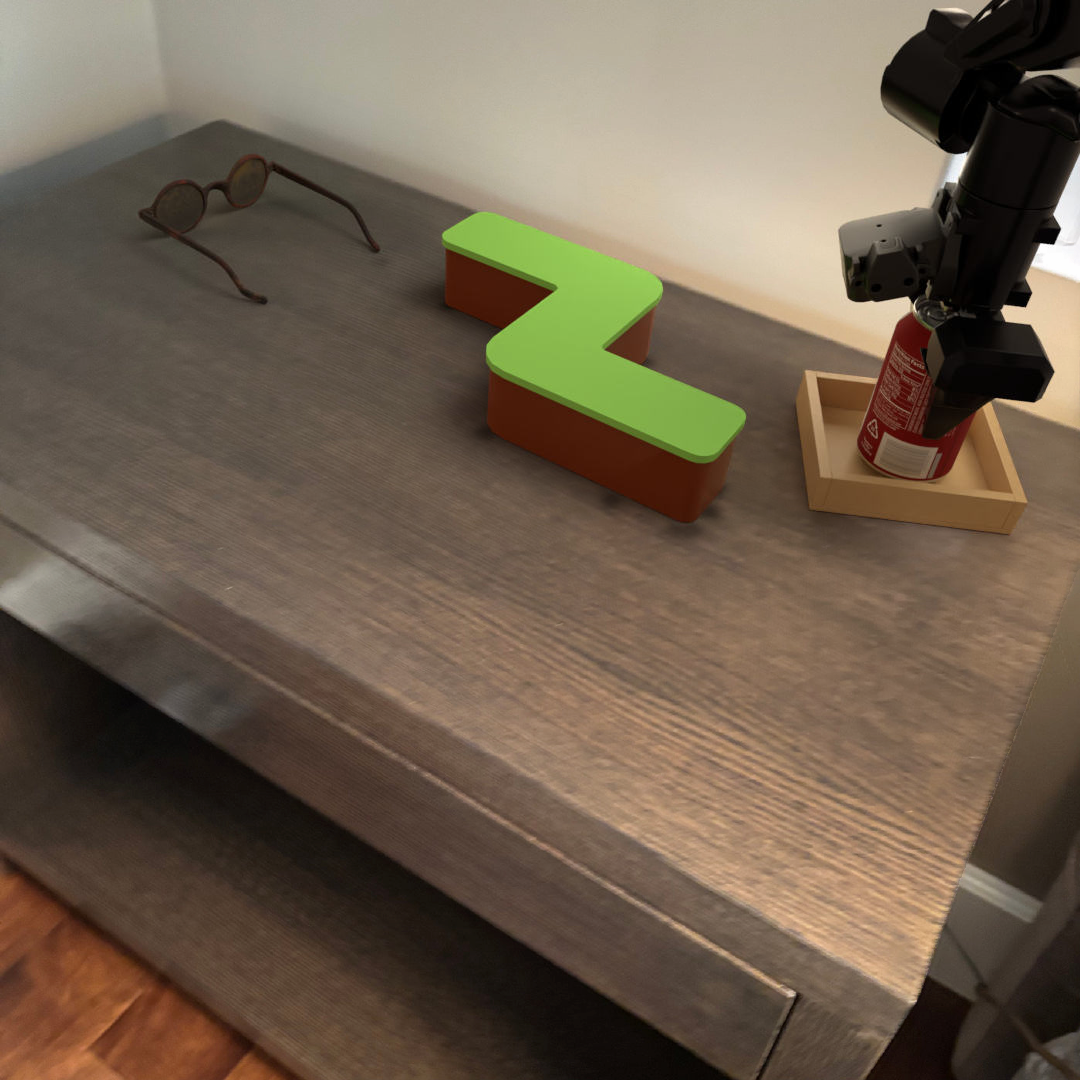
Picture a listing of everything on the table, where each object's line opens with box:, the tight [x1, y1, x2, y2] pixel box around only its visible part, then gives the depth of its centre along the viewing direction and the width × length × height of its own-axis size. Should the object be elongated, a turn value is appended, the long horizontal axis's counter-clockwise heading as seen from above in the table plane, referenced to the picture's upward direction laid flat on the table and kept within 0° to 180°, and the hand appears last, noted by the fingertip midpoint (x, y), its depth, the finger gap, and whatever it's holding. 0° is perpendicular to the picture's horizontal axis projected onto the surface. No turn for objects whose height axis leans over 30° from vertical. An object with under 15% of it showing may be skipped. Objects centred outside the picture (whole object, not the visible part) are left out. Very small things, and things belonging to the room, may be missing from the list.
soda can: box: [857, 294, 977, 483], centre depth 69 cm, size 7×7×12 cm
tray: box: [795, 369, 1028, 535], centre depth 73 cm, size 14×13×3 cm
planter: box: [441, 211, 747, 523], centre depth 76 cm, size 30×18×6 cm, turn 57°
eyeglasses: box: [137, 153, 381, 304], centre depth 88 cm, size 15×15×5 cm
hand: (920, 406), depth 70 cm, fingers closed on soda can, 7 cm apart
